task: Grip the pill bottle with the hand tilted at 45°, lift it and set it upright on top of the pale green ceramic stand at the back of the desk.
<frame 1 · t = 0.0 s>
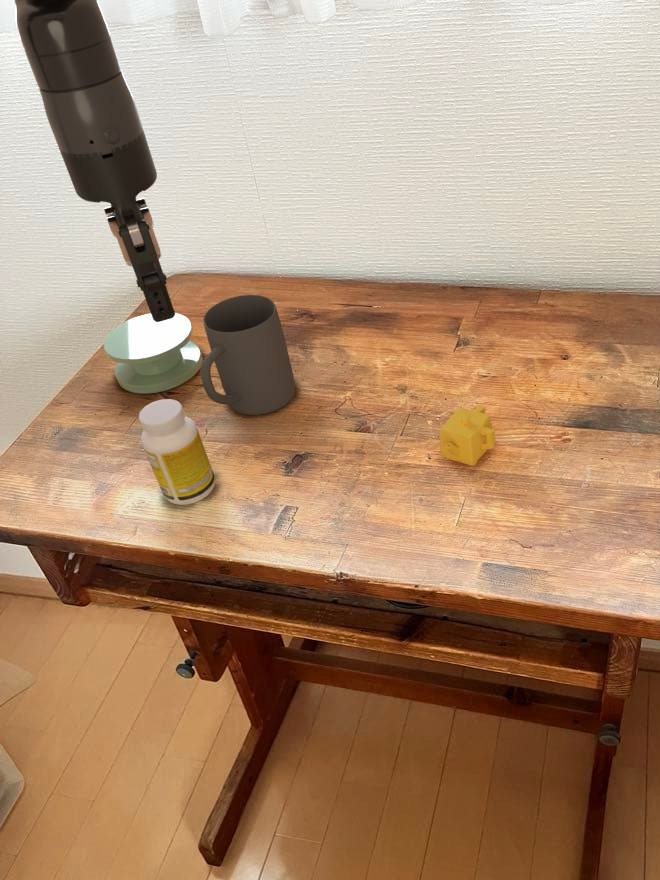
hand: (158, 300, 85), 21 cm above the table, tool pointing down, fingers open, 8 cm apart
mug: (253, 406, 107), on the table
pill bottle: (190, 490, 97), on the table
yellow snap cube: (471, 457, 95), on the table
stand: (160, 368, 116), on the table
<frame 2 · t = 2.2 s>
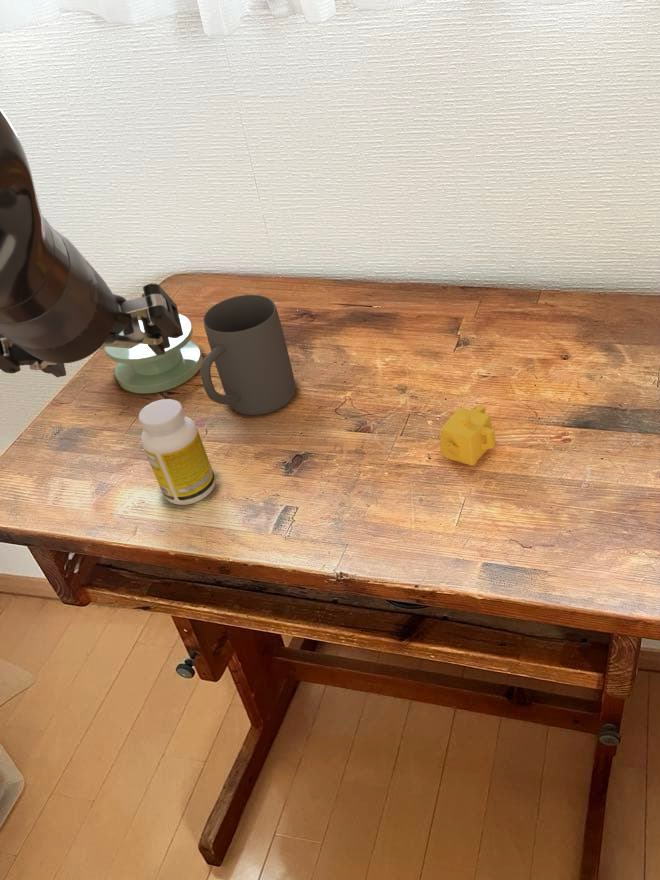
hand: (109, 354, 71), 25 cm above the table, tool tilted 45°, fingers open, 8 cm apart
nothing on the table moved.
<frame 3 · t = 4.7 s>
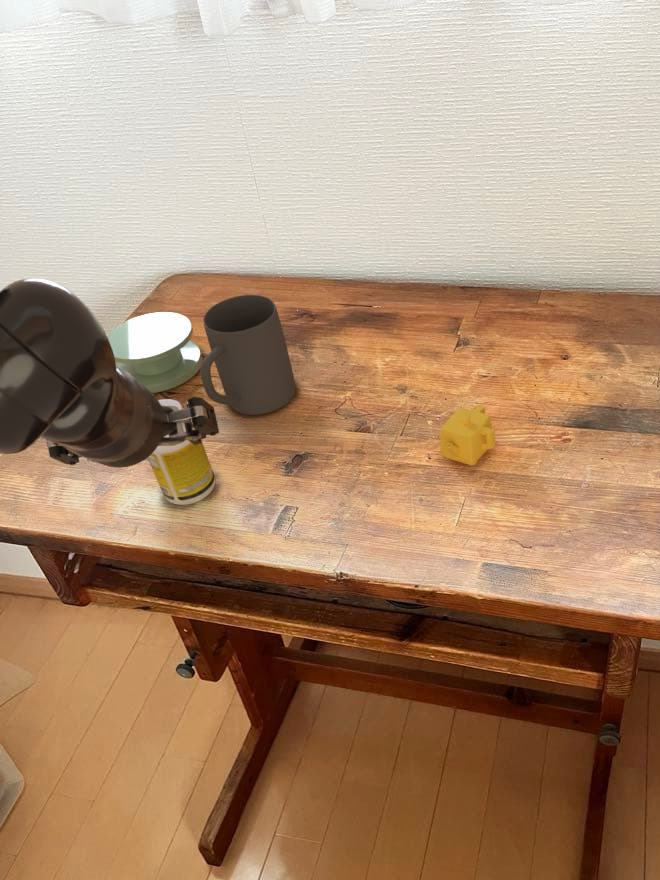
hand: (153, 443, 82), 13 cm above the table, tool tilted 45°, fingers open, 8 cm apart
nothing on the table moved.
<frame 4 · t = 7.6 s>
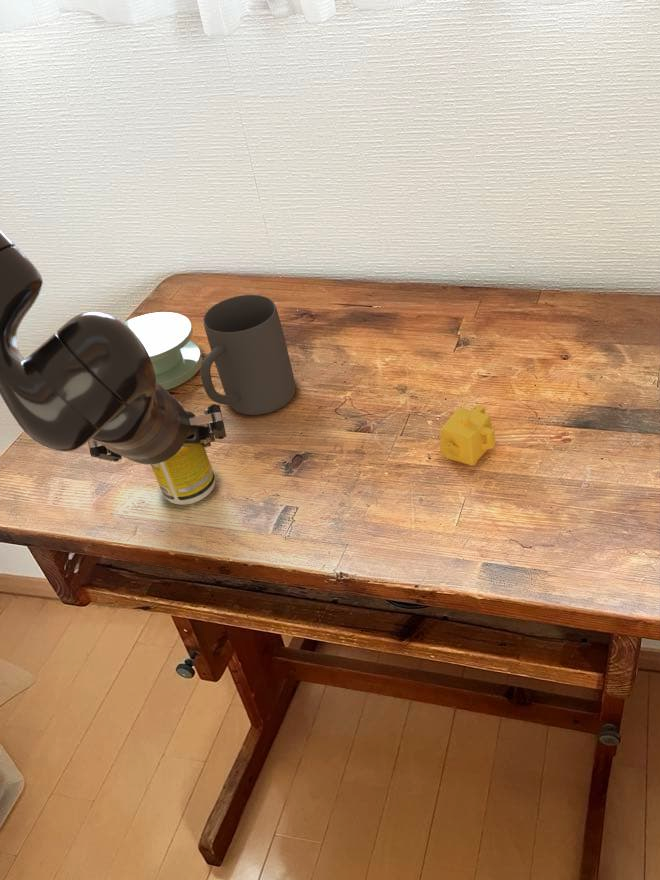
hand: (176, 444, 94), 5 cm above the table, tool tilted 45°, fingers closed on pill bottle, 6 cm apart
pill bottle: (190, 490, 97), on the table, touching gripper
everything else where it was.
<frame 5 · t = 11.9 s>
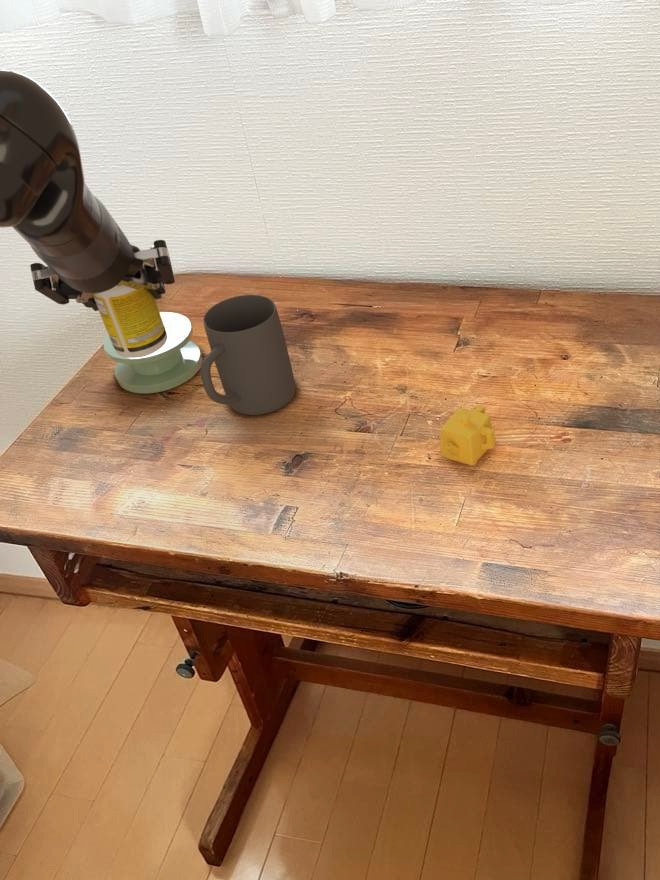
hand: (126, 296, 94), 18 cm above the table, tool tilted 45°, fingers closed on pill bottle, 6 cm apart
pill bottle: (142, 346, 96), point 12 cm above the table, touching gripper
everything else where it was.
when the fingers open (11 cm above the table, at t = 16.6 s): pill bottle stays where it is, resting on stand.
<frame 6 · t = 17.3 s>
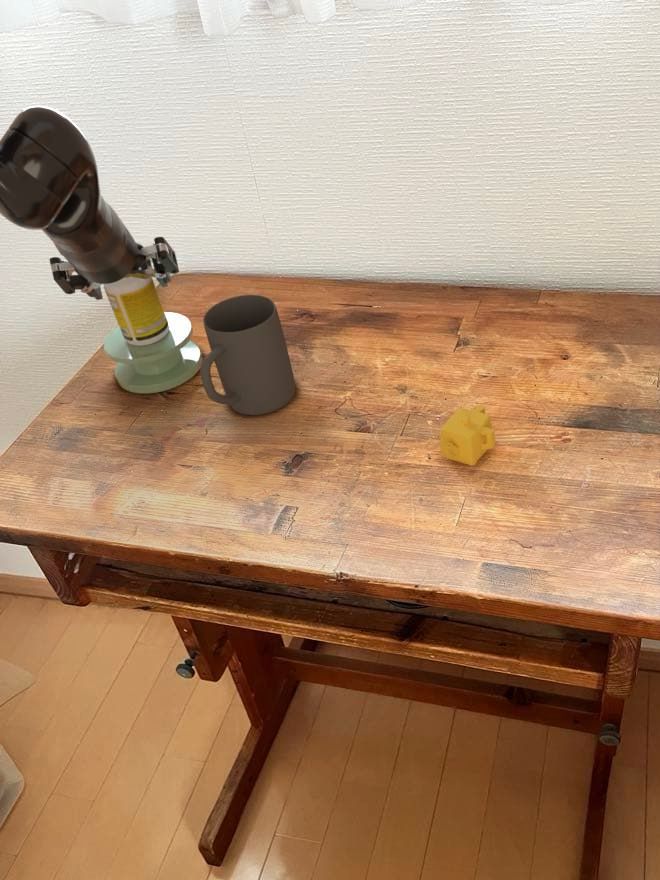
hand: (131, 286, 109), 12 cm above the table, tool tilted 45°, fingers open, 8 cm apart
pill bottle: (148, 336, 112), point 5 cm above the table, touching stand
everything else where it was.
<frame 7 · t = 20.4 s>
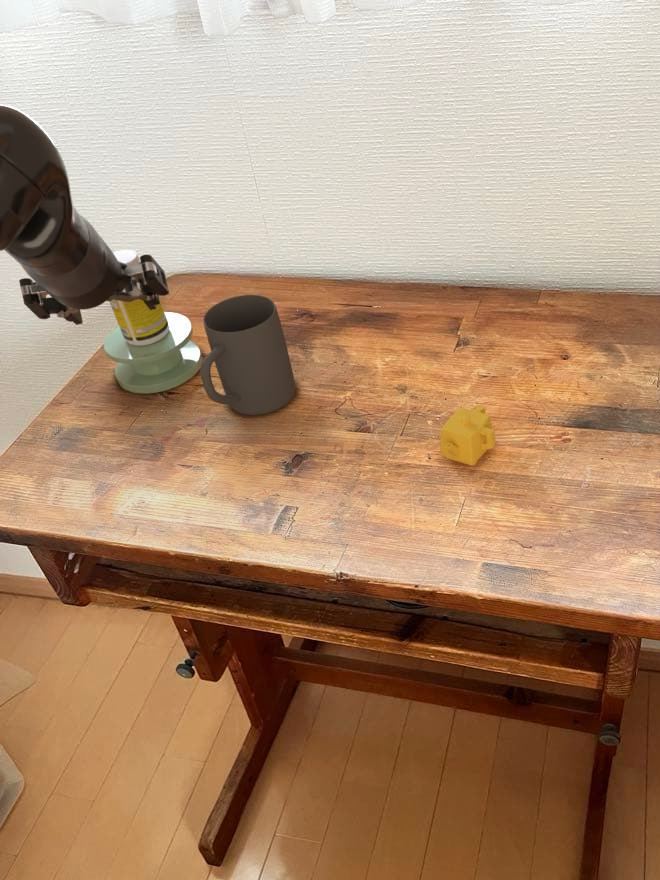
hand: (115, 308, 96), 16 cm above the table, tool tilted 45°, fingers open, 8 cm apart
nothing on the table moved.
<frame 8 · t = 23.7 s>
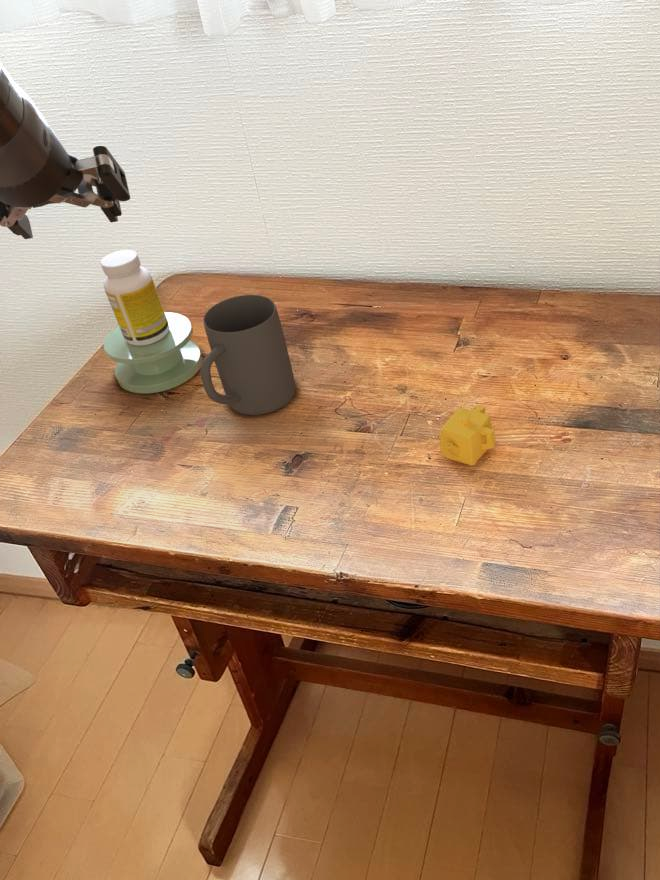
hand: (70, 221, 83), 29 cm above the table, tool tilted 45°, fingers open, 8 cm apart
nothing on the table moved.
at the end: pill bottle inside the target area on the stand (0.1 cm from its centre), point 5.2 cm above the stand's base; pill bottle tilted 0°; the gripper is holding nothing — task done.
